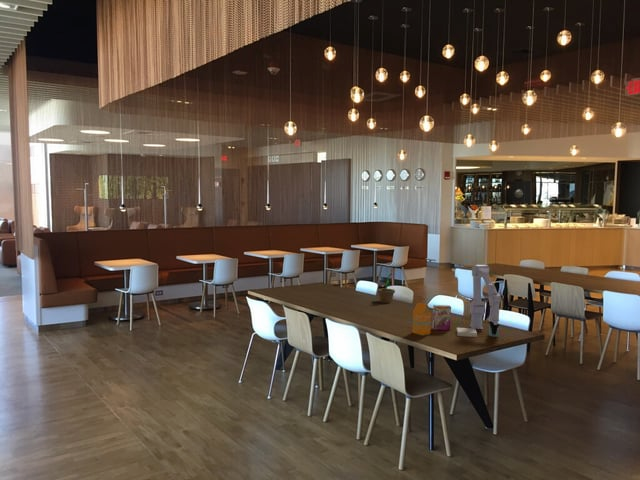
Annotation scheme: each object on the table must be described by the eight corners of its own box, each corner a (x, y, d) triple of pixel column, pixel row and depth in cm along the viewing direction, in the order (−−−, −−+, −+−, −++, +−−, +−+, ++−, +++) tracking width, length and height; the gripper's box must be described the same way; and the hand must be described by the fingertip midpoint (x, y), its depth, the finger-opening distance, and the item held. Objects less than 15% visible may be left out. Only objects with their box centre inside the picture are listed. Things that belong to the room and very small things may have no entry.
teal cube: (489, 334, 343) (489, 326, 343) (497, 334, 342) (497, 327, 342) (489, 336, 338) (490, 328, 338) (497, 336, 337) (498, 329, 337)
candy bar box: (433, 330, 351) (434, 306, 350) (432, 328, 356) (432, 304, 355) (450, 330, 351) (451, 306, 350) (448, 328, 356) (449, 304, 355)
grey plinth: (456, 331, 350) (456, 327, 349) (475, 333, 347) (475, 328, 347) (457, 336, 338) (457, 331, 338) (476, 337, 335) (477, 333, 335)
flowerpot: (394, 303, 439) (395, 268, 437) (377, 303, 441) (378, 267, 439) (394, 300, 453) (395, 266, 451) (377, 299, 455) (378, 265, 453)
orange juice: (422, 335, 337) (423, 305, 335) (412, 332, 344) (413, 302, 342) (430, 333, 341) (431, 303, 340) (420, 331, 348) (421, 301, 347)
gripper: (486, 310, 347) (485, 330, 348) (489, 314, 333) (488, 335, 334) (497, 310, 345) (497, 330, 346) (500, 315, 331) (499, 336, 332)
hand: (493, 333), depth 340 cm, fingers closed on teal cube, 5 cm apart
